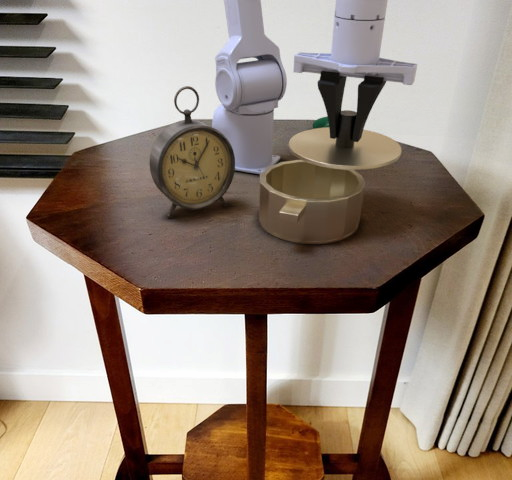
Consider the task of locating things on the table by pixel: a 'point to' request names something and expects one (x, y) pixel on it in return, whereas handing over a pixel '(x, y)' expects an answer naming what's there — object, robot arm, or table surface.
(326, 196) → the pot
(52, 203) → the table surface
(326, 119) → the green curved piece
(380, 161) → the lid
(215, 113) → the robot arm
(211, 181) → the alarm clock
